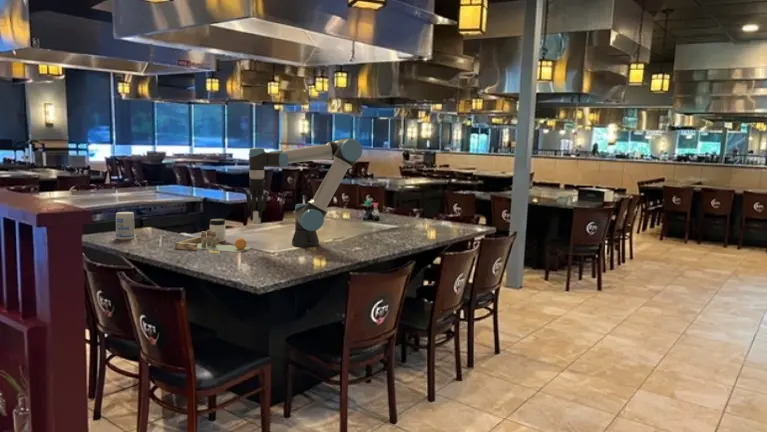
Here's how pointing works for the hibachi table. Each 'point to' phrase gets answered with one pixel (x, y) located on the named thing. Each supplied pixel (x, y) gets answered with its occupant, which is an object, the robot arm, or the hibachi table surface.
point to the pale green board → (222, 248)
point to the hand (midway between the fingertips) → (256, 223)
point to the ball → (240, 243)
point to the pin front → (213, 238)
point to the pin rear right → (208, 237)
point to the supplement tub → (124, 225)
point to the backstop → (191, 243)
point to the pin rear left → (203, 238)
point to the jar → (218, 228)
